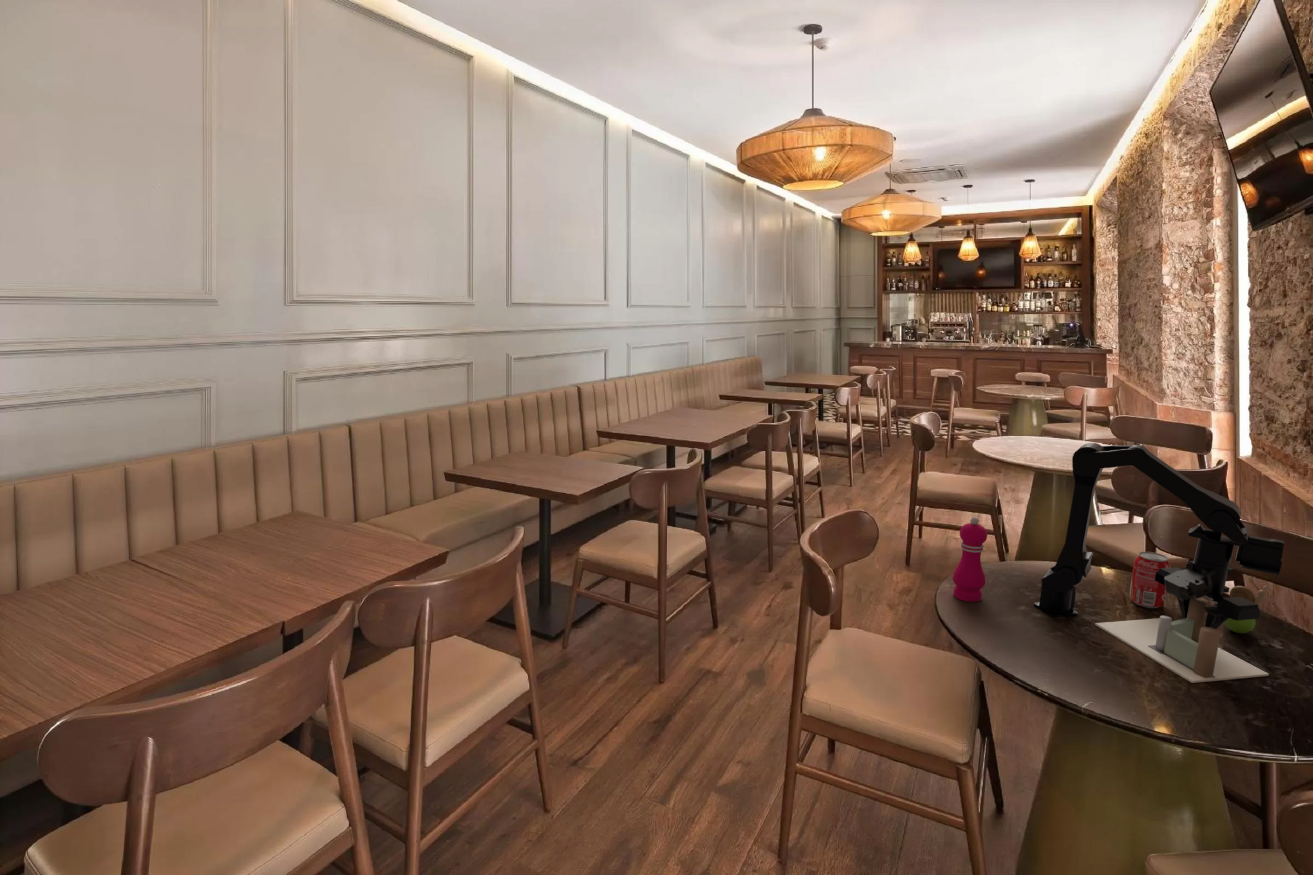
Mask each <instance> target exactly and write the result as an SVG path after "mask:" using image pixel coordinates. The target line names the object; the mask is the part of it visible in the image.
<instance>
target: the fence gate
mask: <svg viewBox="0 0 1313 875" xmlns="http://www.w3.org/2000/svg"><path fill="white" fill-rule="evenodd" d="M1208 604H1209V601H1208V599H1205V598H1203V597H1201V598H1198V599H1197V598H1195V597H1191V598H1190V601H1189V607H1188V613H1187V618H1185V619H1182V618H1181V619H1176V620H1172V623H1171V629H1170V630H1174V631H1176V632H1178V633H1180V634H1182V635H1184V636H1186V637H1187V638H1189V639H1191V640H1193V641H1195V642H1197V643H1198V641H1199V635H1200V630H1201V627H1205V624H1206V618H1207V612H1206V610H1205V609H1204V607H1209V606H1208Z"/></svg>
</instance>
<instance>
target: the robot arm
mask: <svg viewBox="0 0 1313 875" xmlns="http://www.w3.org/2000/svg"><path fill="white" fill-rule="evenodd" d="M1071 461H1072V463H1071V464H1072V467H1071V468H1072V478H1073V483H1074V487H1073V494H1072V499H1071V505H1070V510H1069V516H1068V523H1067V530H1066V533H1065V534H1066V535H1065V541H1064V544H1063V546H1062V549H1061V551H1060V554H1059V556H1058V558H1057V560H1056V563H1055V565H1054V566H1052V567H1050V568H1049V569H1048V571H1046V573H1045V574H1044V575H1043V577H1042V578H1041V580H1040V581H1041V586H1040V587H1041V588H1040V596H1039V602H1038V601H1037V602H1034V604H1033V605H1034V606H1035V607H1037V608H1038V609H1040V610H1042V611H1043V612H1045V613H1046V614H1048V615H1049V616H1051V617H1064V616H1067V617H1068V616H1076V615H1078V611H1076V610H1074V609H1075V603H1076V595H1077V592H1076V585H1078V584H1080V583H1081V582H1082V581H1083V579H1084V578H1086V577H1088V575H1089V573H1090V571H1091V570H1092V564H1091V561H1092V558H1093V555H1094V552H1093V551H1092V552H1091V551H1087V545H1086V544H1087V543H1086V542H1087V536H1088V532H1089V526H1090V521H1091V520H1090V519H1091V514H1092V508H1093V503H1094V502H1093V501H1094V496H1095V491H1096V486H1097V484H1098V482H1099V479H1100V476H1101V474H1102V472H1103V470H1104V469H1111V468H1119V467H1127V466H1129V467H1130V466H1133V467H1134V468H1136V469H1137V470H1138V471H1140V472H1141V473H1143V474H1144V475H1145V476H1146V477H1148V478H1150V479H1151V480H1152V481H1154V482H1155V483H1156V484H1158V485H1159V486H1161V487H1163V488H1164V489H1165V490H1166V491H1168V492H1169V493H1171V494H1172V495H1174V496H1175V497H1176V498H1178V499H1180V501H1182V502H1183V503H1184V504H1185V505H1186V506H1187V507H1188V508H1189V509H1190V510H1191V511H1192V513H1193V515H1195V517H1197V518H1198V519H1199V520H1200V521H1201V522H1202V523H1198V524H1197V525H1196V526H1193V527H1191V528H1189V529H1188V532H1187V535H1188V536H1189V537H1192V538H1198V540H1197V543H1196V544H1197V545H1196V549H1195V553H1194V557H1193V560H1188V562H1187V563H1186V565H1185V568H1184V569H1181V568H1179V567H1176V566H1175V567H1170V568H1160V569H1159V570H1158V571H1157V572H1156V574H1155V579H1154V580H1155V581H1157V582H1159V583H1161V584H1163V585H1165V588H1166V592H1167V593H1166V594H1171V595H1173V596H1175V597H1176V598H1177V601H1178V606H1179V609H1180V614H1181V619H1185V618H1187V613H1188V607H1189V601H1190V598H1191V597H1195V598H1197V599H1198V598H1203V597H1204V598H1206V599H1207V600H1210V601H1212V602H1213V603H1212V606H1207V607H1204V609H1205V610H1206V618H1205V623H1204V627H1210V628H1214V629H1217V630H1218V628H1219V627H1221V626H1222V624H1224V621H1226V620H1227V619H1228V618H1230V619H1233V620H1250V619H1255V620H1258V619H1260V615H1261V611H1262V610H1261V607H1260V606H1258V605H1257V604H1255V603H1253V602H1251V601H1249V600H1247V599H1244V598H1242V597H1233V598H1231V597H1228V596H1225V595H1223V594H1226V593H1229V594H1230V590H1231V589H1230V587H1228V586H1226V582H1227V578H1228V575H1234V570H1235V569H1234V568H1232V567H1230V566H1231V562H1232V561H1231V560H1232V557H1233V551H1234V548H1235V546H1237V550H1236V556H1235V560H1234V561H1235V562H1238V563H1239V564H1238V565H1240V567H1241V568H1243V569H1247V570H1252V571H1254V572H1255V571H1256V572H1260V573H1265V574H1268V575H1274V576H1279V575H1280V572H1281V568H1282V565H1283V558H1282V557H1283V552H1284V547H1285V542H1284V540H1282V539H1277V538H1267V537H1262V536H1257V535H1251V534H1249V530H1248V528H1247V527H1246V526H1245V524H1244V523H1243V521H1242V519H1241V508H1240V507H1239V505H1238V504H1237V503H1236V502H1234V501H1233V500H1231V499H1228V498H1227V497H1225V496H1222V495H1221V494H1219V493H1216V492H1214V491H1211V490H1208V489H1205V488H1204V487H1202V486H1200V485H1198V484H1196V483H1195V481H1192V480H1191V479H1189V477H1186V476H1185V475H1183V474H1182V473H1181V472H1179V471H1178V470H1177V469H1175V468H1173V466H1171V465H1169V464H1167V462H1165V461H1164V460H1162V459H1161V458H1159V457H1158V456H1156V455H1155V454H1154V453H1152V452H1151V451H1149V449H1147V448H1146V446H1143V445H1141V444H1133V445H1103V446H1102V445H1101V444H1099V443H1096V442H1088V443H1085V444H1083V445H1081V446H1080V447H1079V448H1078V449H1077V450H1076V451H1075V452H1074V453H1073V454H1072V459H1071ZM1203 524H1204V525H1205V526H1206V527H1207V528H1205V527H1204V525H1203Z"/></svg>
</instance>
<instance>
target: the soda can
mask: <svg viewBox="0 0 1313 875" xmlns="http://www.w3.org/2000/svg"><path fill="white" fill-rule="evenodd" d="M1160 568H1171V565H1170V563H1169V557H1168V556H1166V555H1164V554H1161V553H1157V552H1152V551H1140V552H1138V555H1137V557H1136V558H1135V559H1134V562H1133V568H1132V573H1131V580H1130V586H1129V587H1130V588H1129V599H1130V600H1131V601H1132V602H1133V603H1134V604H1136V605H1137V606H1140V607H1144V608H1148V609H1157V608H1160V607H1163V606H1164V605H1165V601H1166V598H1167V594H1168V593H1167V592H1166V588H1165V585H1163V584H1161V583H1159V582H1157V581H1155V580H1154V579H1155V574H1156V572H1157V571H1158V570H1159V569H1160Z"/></svg>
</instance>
